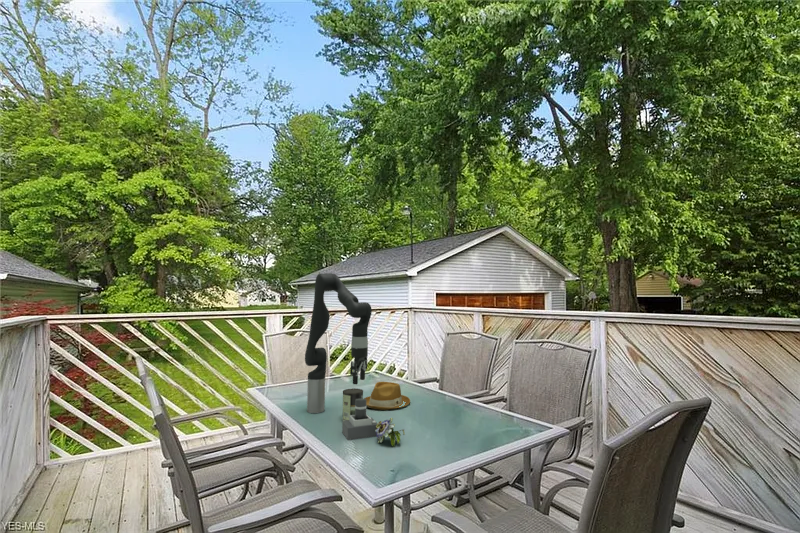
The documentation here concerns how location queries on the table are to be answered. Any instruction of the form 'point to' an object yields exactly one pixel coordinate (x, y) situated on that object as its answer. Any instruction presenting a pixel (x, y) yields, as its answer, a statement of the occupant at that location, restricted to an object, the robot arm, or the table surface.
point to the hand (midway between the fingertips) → (358, 381)
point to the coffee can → (350, 401)
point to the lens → (360, 409)
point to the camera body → (359, 428)
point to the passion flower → (387, 432)
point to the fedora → (386, 397)
